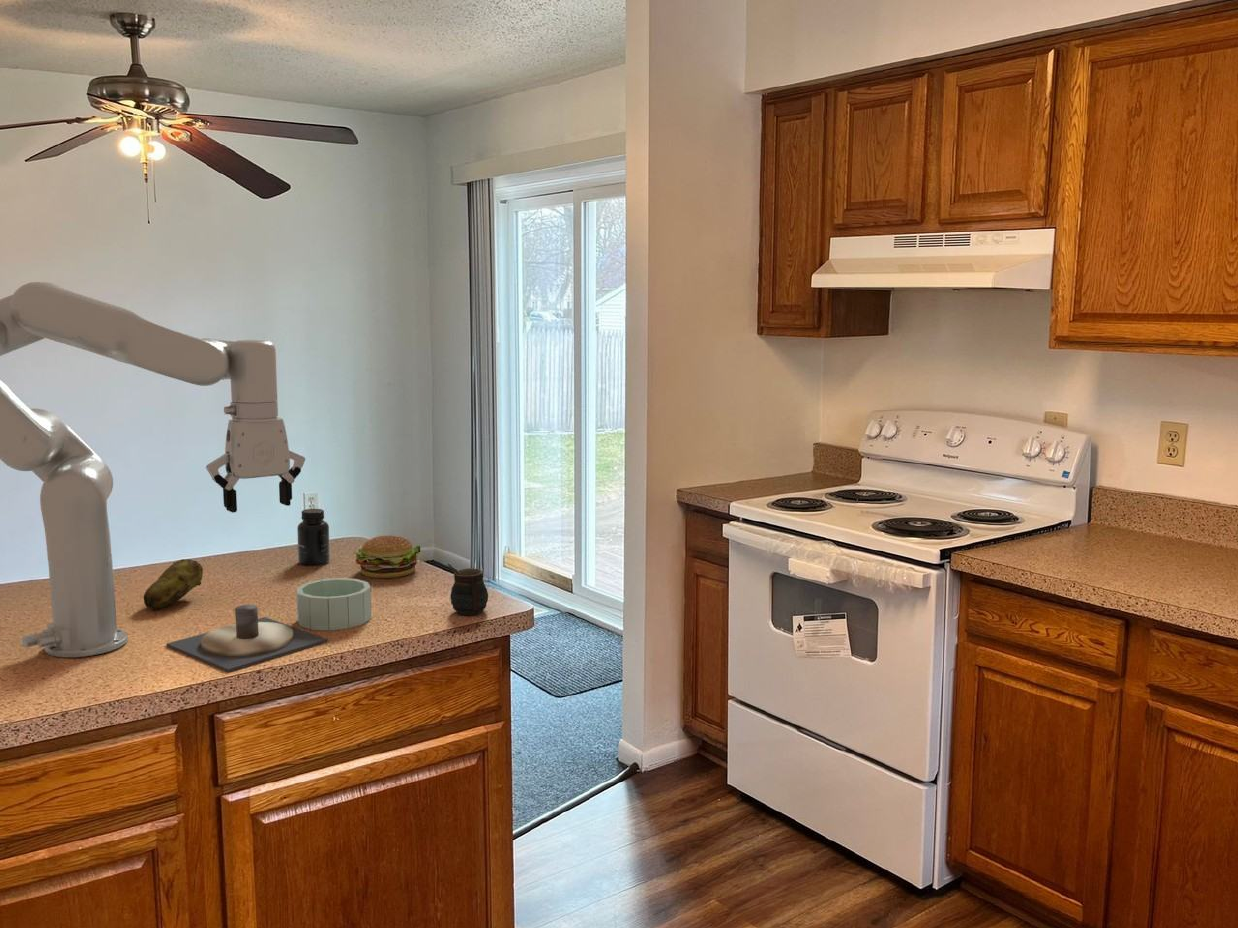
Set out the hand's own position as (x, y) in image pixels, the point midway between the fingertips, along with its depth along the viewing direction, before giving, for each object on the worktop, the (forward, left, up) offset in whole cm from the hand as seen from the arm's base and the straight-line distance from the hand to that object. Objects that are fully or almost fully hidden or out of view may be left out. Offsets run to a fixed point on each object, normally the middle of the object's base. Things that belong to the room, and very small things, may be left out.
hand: (258, 507), depth 180 cm
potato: (-2, +27, -23) cm, 36 cm away
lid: (-6, -5, -22) cm, 23 cm away
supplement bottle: (+34, +32, -23) cm, 52 cm away
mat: (-6, -5, -22) cm, 24 cm away
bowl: (+12, -5, -22) cm, 26 cm away
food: (+39, +13, -23) cm, 47 cm away
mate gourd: (+31, -21, -23) cm, 43 cm away
